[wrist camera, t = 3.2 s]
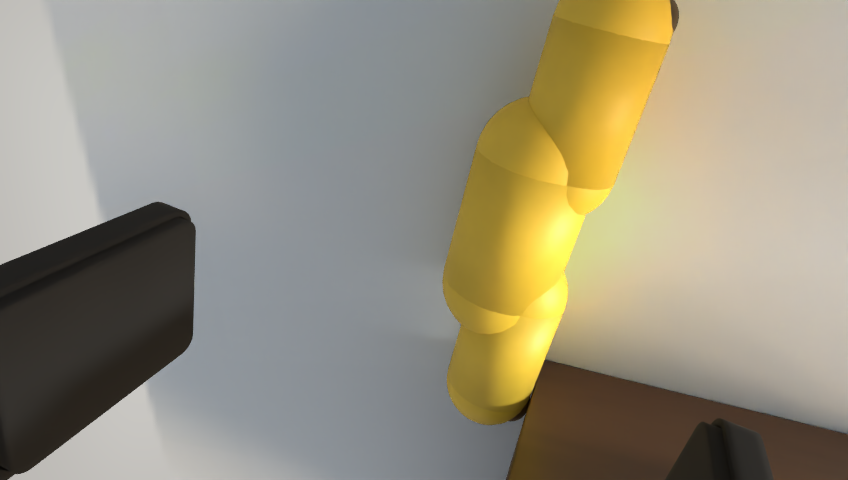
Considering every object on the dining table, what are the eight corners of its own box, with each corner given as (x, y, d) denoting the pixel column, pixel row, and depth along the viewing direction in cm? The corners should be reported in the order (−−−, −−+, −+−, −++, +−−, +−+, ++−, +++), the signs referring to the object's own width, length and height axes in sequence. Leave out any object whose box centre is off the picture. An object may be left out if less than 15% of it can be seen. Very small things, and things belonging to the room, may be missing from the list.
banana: (543, -52, 15) (516, -66, 12) (694, -18, 14) (706, -23, 11) (431, 357, 21) (395, 414, 18) (529, 398, 20) (509, 465, 17)
